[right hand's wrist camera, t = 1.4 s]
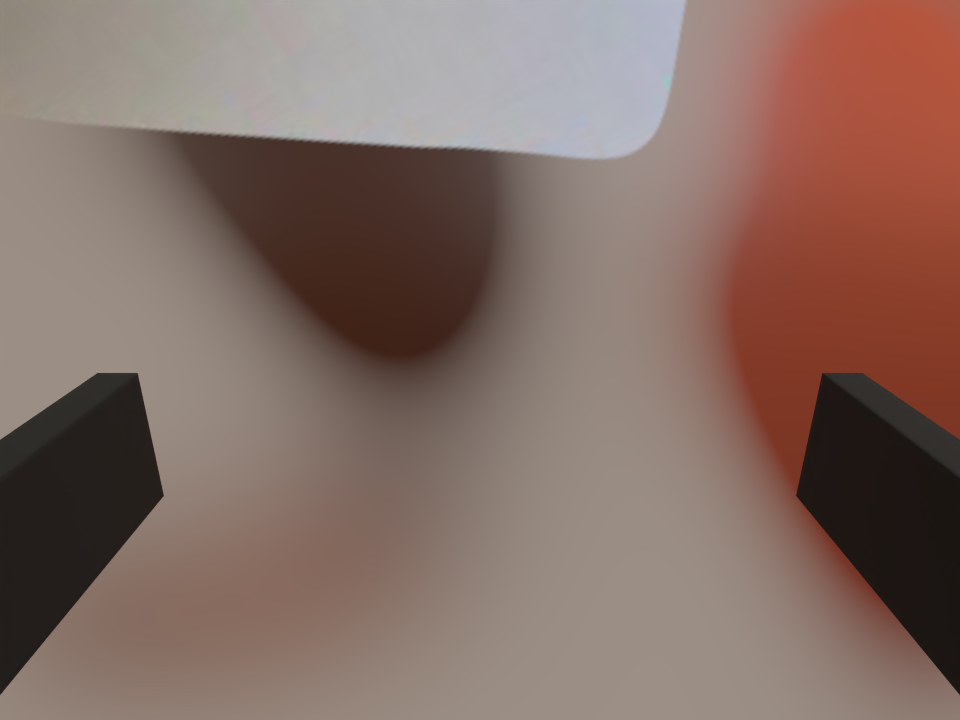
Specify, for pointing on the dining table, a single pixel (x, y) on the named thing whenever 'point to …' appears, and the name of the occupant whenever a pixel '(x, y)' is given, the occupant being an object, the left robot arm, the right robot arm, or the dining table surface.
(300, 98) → the dining table surface
